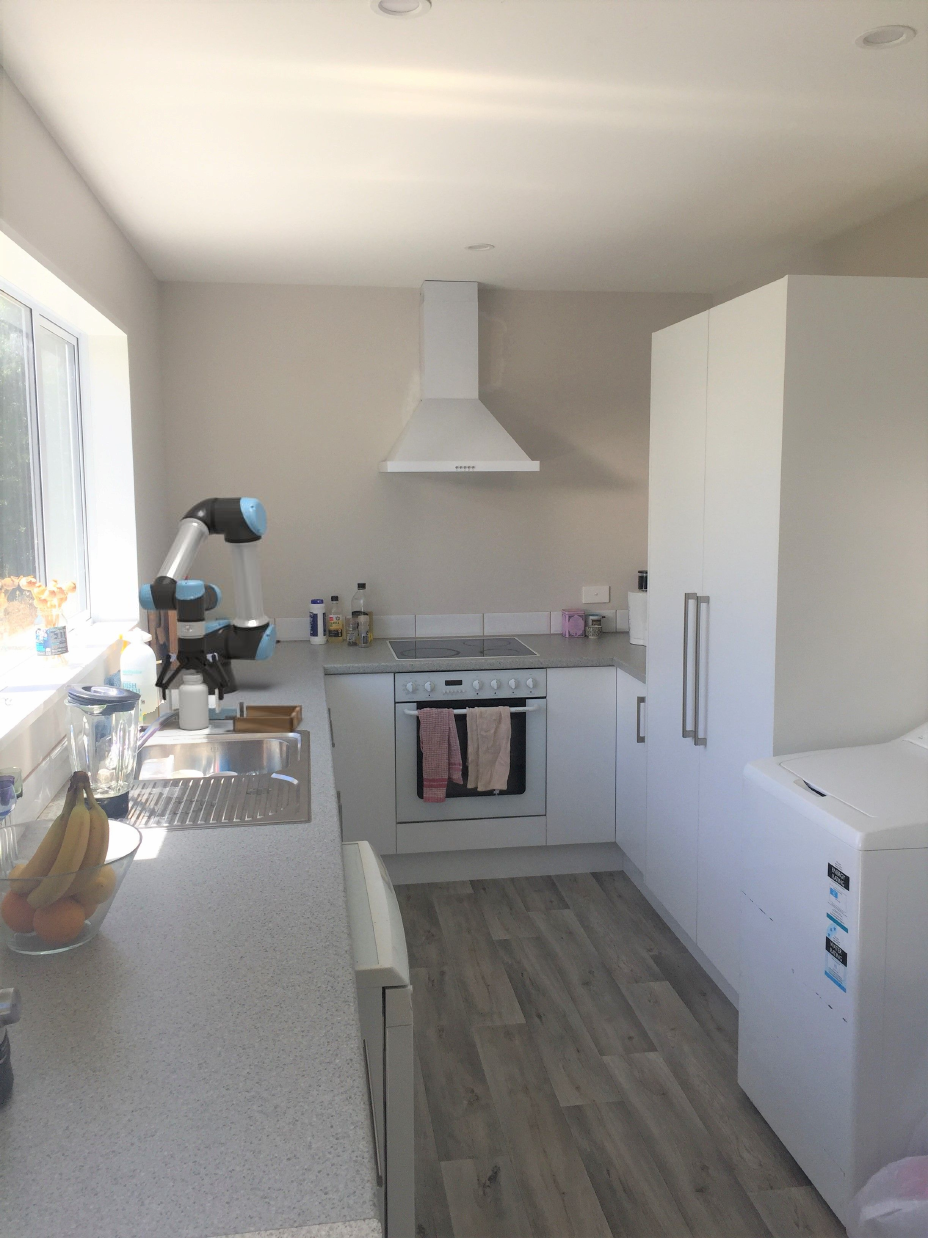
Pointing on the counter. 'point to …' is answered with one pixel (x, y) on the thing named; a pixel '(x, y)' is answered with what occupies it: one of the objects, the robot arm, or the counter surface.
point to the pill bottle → (193, 702)
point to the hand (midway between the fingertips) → (193, 711)
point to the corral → (267, 718)
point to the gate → (221, 713)
